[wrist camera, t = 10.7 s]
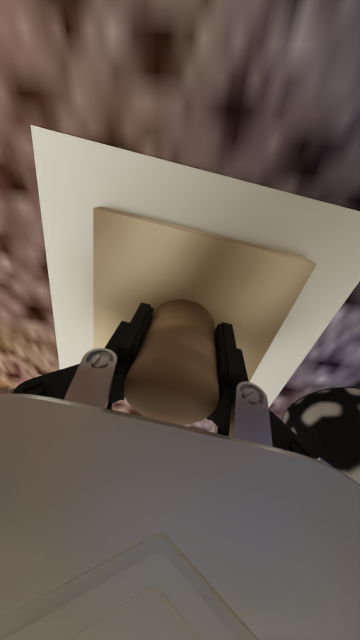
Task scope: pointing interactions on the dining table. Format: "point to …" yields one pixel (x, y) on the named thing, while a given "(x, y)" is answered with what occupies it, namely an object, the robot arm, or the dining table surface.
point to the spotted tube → (330, 427)
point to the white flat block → (195, 213)
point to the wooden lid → (186, 306)
